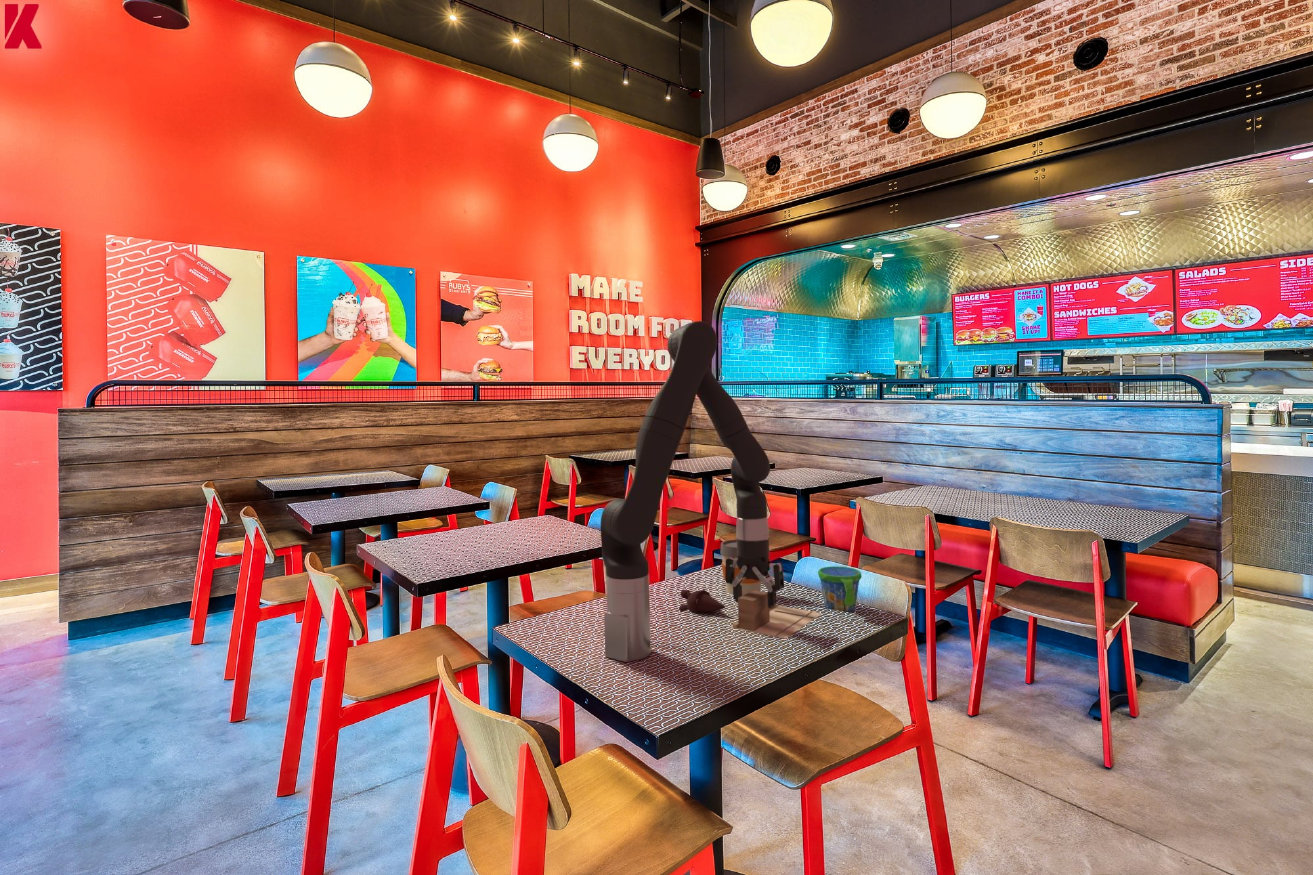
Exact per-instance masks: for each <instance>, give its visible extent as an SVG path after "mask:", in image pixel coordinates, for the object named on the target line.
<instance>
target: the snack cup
mask: <svg viewBox="0 0 1313 875" xmlns="http://www.w3.org/2000/svg"><path fill="white" fill-rule="evenodd" d="M817 574H818V578H819V579H820V585H821V593H822V598H823V605H824V608H825V610H826V609H827V610H831V611H837V612H838V611H839V612H843V613H849V614H850V613H852V612H855V610H856V606H857V599H858V593H859V584H860V580H861V579H862V573H861V571H860V570H858V569H857V568H853V567H848V566H837V565H836V566H827V567H826V566H825V567H822V568H820V569H818V571H817Z"/></svg>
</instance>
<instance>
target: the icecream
mask: <svg viewBox="0 0 1313 875" xmlns="http://www.w3.org/2000/svg"><path fill="white" fill-rule="evenodd" d="M679 593H680V596H681V598H683V599H685V600H686V603H683V604H681V605H680V606H679V608H678V610H679V611H680V613H683V612H685V611H687V610H688V611H689V612H691V613H693V614H695V615H697V614H709V613H714V612H716V611H719V610H724V609H725V608H726V606H725V605H724V604H723V603H721V602H720V601H718V600H717V599H715V598H713V596H711V594H710V592H709V591H707V590H705V589H702V590H695V591H693V592H690V590H689V589H681V591H680V592H679Z"/></svg>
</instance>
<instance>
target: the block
mask: <svg viewBox="0 0 1313 875" xmlns="http://www.w3.org/2000/svg"><path fill="white" fill-rule="evenodd" d="M767 592H768V591H762V590H760V591H757V590H753V591H751V592H749V593H747V594H745V595H743V596H741V597H739V598H738V602H737V608H738V609H737V612H738V613H737V614H738V616H737V617H738V619H737V621H738V623H739V628H741V629H746V630H751V631H755V630H757V629H758V628H760V627H762V626H763V625H765V624H767V623H768V622H770V608H768V596H767ZM741 629H740V630H741Z"/></svg>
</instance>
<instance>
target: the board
mask: <svg viewBox="0 0 1313 875" xmlns="http://www.w3.org/2000/svg"><path fill="white" fill-rule="evenodd" d="M822 613H823V612H822ZM822 613H821V612H815V611H812V610H811V611H810V610H805V609H798V608H794V607H793V608H792V607H788V606H782V605H777V604H776V605H775V606H774V607H772V608H770V622H768V623H767V624H765V625H763V626H762V627H760V628H758V629H757V630H755V631H751V630H746V629H741V628H739V623H738V620H737V621H736V622H734V623H732V625H731V626H730V628H732V629H735V630H742V631H745V632H751V633H757V634H759V635H766V636H771V637H775V638H781V639H785V640H786V639H788V638H789V637H790V636H791V635H793V634H794V633H796V632H797V631H799V630H800V629H802V628H803V627H805V626H806V625H808V624H809V623H810V622H812V621H813V620H815V619H817V618H818V617H819V616H820V615H822Z"/></svg>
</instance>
